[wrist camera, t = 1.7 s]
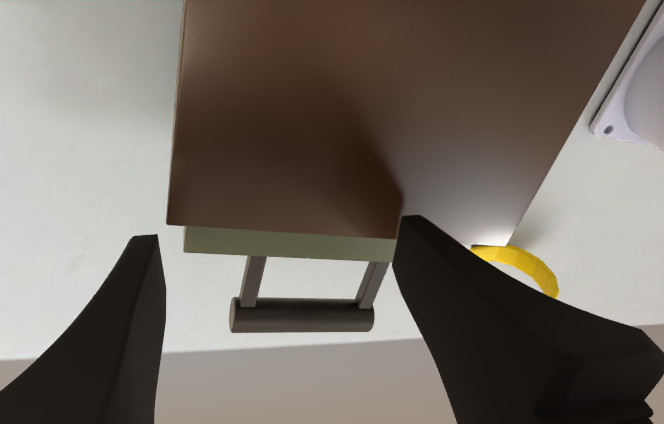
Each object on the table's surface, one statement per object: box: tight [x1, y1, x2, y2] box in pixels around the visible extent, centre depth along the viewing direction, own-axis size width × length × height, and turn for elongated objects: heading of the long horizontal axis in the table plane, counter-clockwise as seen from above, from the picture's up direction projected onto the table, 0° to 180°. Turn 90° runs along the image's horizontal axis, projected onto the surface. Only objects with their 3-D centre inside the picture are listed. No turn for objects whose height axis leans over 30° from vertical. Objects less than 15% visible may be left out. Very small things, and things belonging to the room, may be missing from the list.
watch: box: [470, 244, 559, 299], centre depth 28 cm, size 6×3×6 cm, turn 85°
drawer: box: [183, 226, 472, 333], centre depth 17 cm, size 19×10×7 cm, turn 164°
